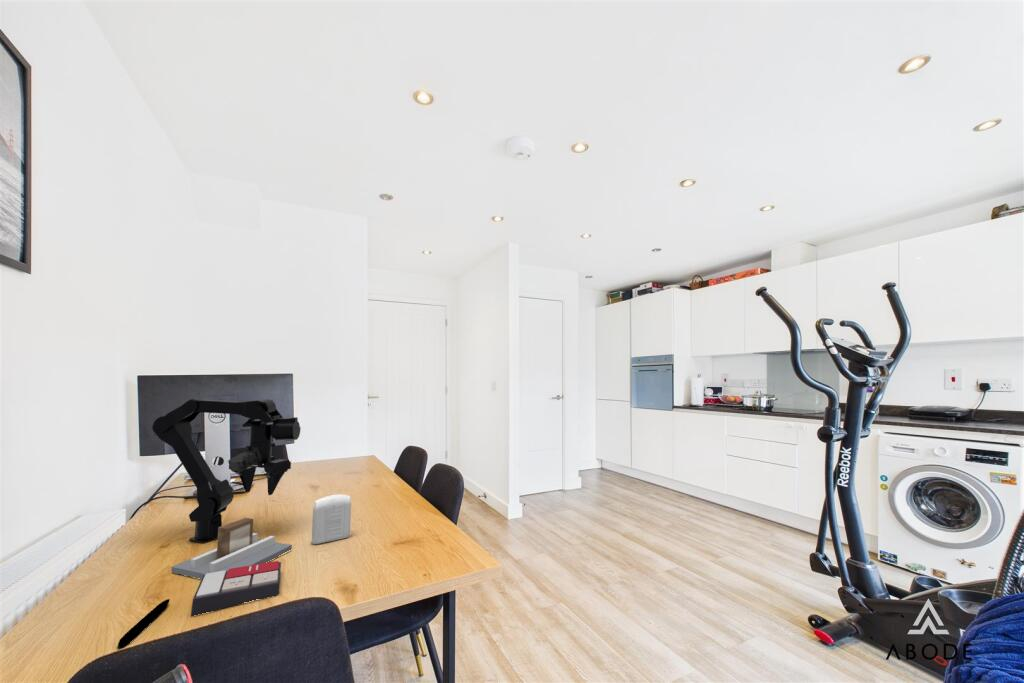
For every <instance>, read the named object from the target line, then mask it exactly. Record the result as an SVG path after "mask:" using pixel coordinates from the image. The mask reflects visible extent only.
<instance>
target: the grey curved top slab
mask: <svg viewBox="0 0 1024 683" xmlns="http://www.w3.org/2000/svg"><path fill="white" fill-rule="evenodd" d="M351 500H352V499H351V496H350V495H348V494H332V495H331V494H330V495H327V496H324V497H321V498H319V499H316V500H315V501H314V504H313V507H312V522H311V523H312V524H311V525H312V526H311V544H312V545H318V544H323V543H327V542H333V541H338V540H341V539H347V538H349V537H350V536H351V517H352V501H351Z"/></svg>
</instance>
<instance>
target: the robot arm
mask: <svg viewBox="0 0 1024 683" xmlns="http://www.w3.org/2000/svg"><path fill="white" fill-rule="evenodd" d="M202 413H204V414H205V413H207V414H225V415H227V414H228V415H237V416H238V415H239V416H241V417H243V418H247V421H245V422H244V423H243V424H242V425H241V426H242V428H248V427H249V428H250V430H249V444H248V445H245V447H244V451H243V452H241V453H238V454H237V455H235V456H233V457H232V458H230V459H228V460H227V462H228V470H230V471H231V472H232V473H235V474H236V475H238V476H239V478H240V480H241V483H242V487H243V490H244V492H245V493H249V492H251V489H252V486H253V482H254V478H255V474H256V471H257V468H260V469H263V470H264V473H263V476H265V477H266V479H267V480H266V481H267V494H268V496H272V495H273V494H274V492H275V490H276V488H277V486H278V485H279V482H280V481H281V479H282V477H283V476H284V475H285V473H287V472H288V471H289V470H291V469H292V461H290V460H289V459H285V458H279V459H275V458H276V456H272V448H273V447H276V442H273V439H274V440H275V441H298V439H299V438H300V434H301V425H300V422H299V418H298V417H283V415H282V414H281V413H280V411H279V410H278V409H277V405H276V403H275V402H274V401H273V399H269V398H264V399H254V400H246V401H238V400H224V399H223V400H221V399H205V398H202V397H200V398H192V399H188V400H187V401H186V402H184V403H183V404H182V405H180V406H178V407H177V408H175V409H173V410H171V411H170V412H167V414H165V415H162V416H159V417H158V418H156V419H155V420H154V421H153V424H152V426H151V429H152V432H153V433H154V434H155V436H156V437H157V438H158V439H159V440H160V441H162V442H163V443H165V444H167V445H169V446H170V447H171V449H173V451H174V454H176V457H177V458H178V460H179V461H180V462H181V464H182V466H183V467H184V469H185V471H186V473H187V474H188V476H189V478H190V479H191V481H192V483H193V484H194V486H195V488H196V502H197V504H198V506H197V507H196V508H194V509H193V511H191V512H190V513H189V514H188V516H189V520H190V522H191V523H193V522H194V523H195V525H194V526H195V529H194V536H193V537H189V539H188V542H189V541H190V542H195V543H200V544H205V542H206V543H208V542H211V541H213V540H215V538H216V539H218V527H221V526H223V521H222V518H223V515H222V513H223V512H226V511H227V508H228V506H229V505H230V504H232V502H233V500H234V497H235V494H234V492H233V491H234V488H233V487H232V486H231V485H230V482H229V481H228V479H224V480H222V481H221V480H219V479H218V478H217V477H216V476H215V475H214V472H213V471H212V470H211V468H210V467H209V465H208V463H207V460H205V458H204V456H203V455H202V453H201V452H200V450H199V448H198V446H197V445H196V442H194V440H193V437H192V433H193V429H192V424H191V423H192V422H194V420H196V419H197V418H198V416H199V415H200V414H202ZM210 540H211V541H210Z"/></svg>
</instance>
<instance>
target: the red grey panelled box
mask: <svg viewBox="0 0 1024 683" xmlns="http://www.w3.org/2000/svg"><path fill="white" fill-rule="evenodd" d="M281 570H282V562H281V561H279V560H275V561H274V560H272V561H270V562H267V563H261V564H255V565H249V566H243V567H237V568H231V569H229V570H228V571H226V570H225V571H219V572H213V573H207V574H206V575H204V576H203V577H202V580H200V582H199V585H197V586H198V587H197V589H196V591H195V593H194V595H193V598H192V604H191V612H190V617H191V616H193V617H195V616H194V615H198V614H202V613H206V612H210V613H212V612H211V611H214V612H216V611H218V610H221V609H225V608H229V607H236V606H240V605H239V604H241V605H243V604H242V603H244V602H249V601H252V600H256V599H262V600H265V599H264V598H266V599H268V598H267V597H270V598H273V597H272V596H274V597H277V596H279V595H278V594H280V585H281ZM276 595H277V596H276ZM249 603H250V602H249ZM206 614H207V613H206ZM202 615H203V614H202ZM198 616H199V615H198Z"/></svg>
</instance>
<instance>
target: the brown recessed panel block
mask: <svg viewBox="0 0 1024 683" xmlns="http://www.w3.org/2000/svg"><path fill="white" fill-rule="evenodd" d="M253 533H254V518H250V517H243V518H241V519H237V520H236V521H232V522H229V523H227V524H224V525H222V526H221V527H218V538H217V543H216V544H217V546H216V548H217V559H220V558H222V557H224V556H226V555H229V554H231V553H233V552H235V551H238V550H240V549H242V548H244V547H247V546H249V545H251V544H252V539H253Z"/></svg>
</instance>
